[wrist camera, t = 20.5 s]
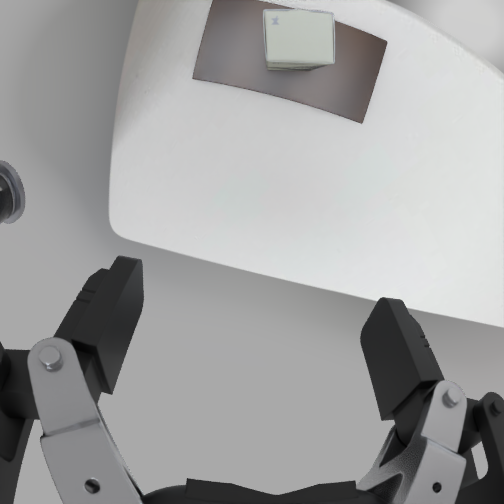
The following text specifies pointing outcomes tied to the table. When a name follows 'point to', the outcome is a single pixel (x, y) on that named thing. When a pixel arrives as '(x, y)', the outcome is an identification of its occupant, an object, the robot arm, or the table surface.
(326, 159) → the table surface
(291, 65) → the box
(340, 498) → the robot arm
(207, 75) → the walnut board
